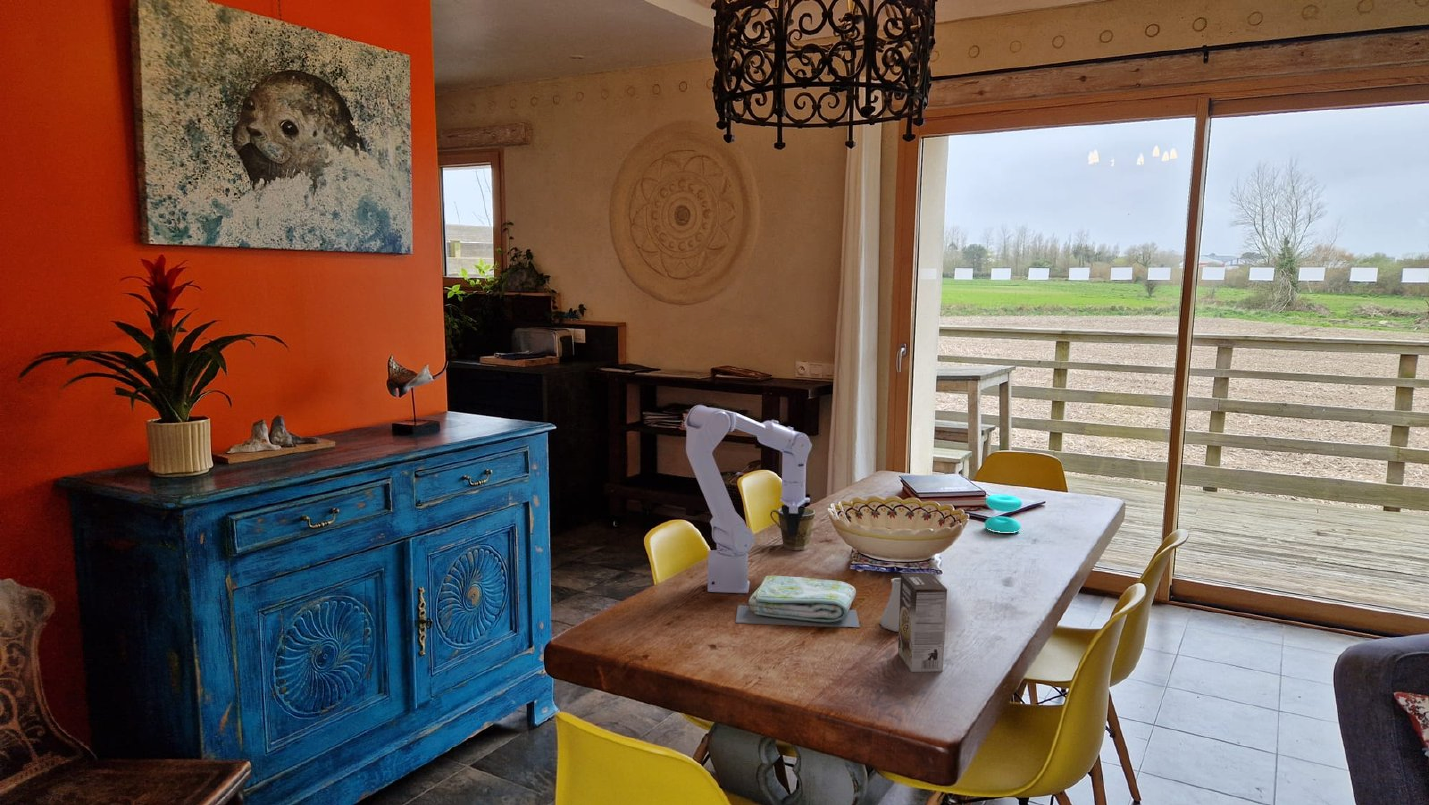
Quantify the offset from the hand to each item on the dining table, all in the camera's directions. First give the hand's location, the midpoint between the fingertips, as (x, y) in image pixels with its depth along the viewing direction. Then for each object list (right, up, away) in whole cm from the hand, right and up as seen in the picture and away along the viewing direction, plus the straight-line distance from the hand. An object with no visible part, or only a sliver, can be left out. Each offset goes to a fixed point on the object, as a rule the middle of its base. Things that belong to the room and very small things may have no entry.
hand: (792, 535), depth 220 cm
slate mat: (-1, -14, -25) cm, 29 cm away
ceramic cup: (+2, -7, +27) cm, 28 cm away
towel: (+1, -13, -20) cm, 24 cm away
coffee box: (+20, -17, -48) cm, 55 cm away
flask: (+20, -15, -30) cm, 39 cm away
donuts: (+65, -6, +45) cm, 80 cm away
